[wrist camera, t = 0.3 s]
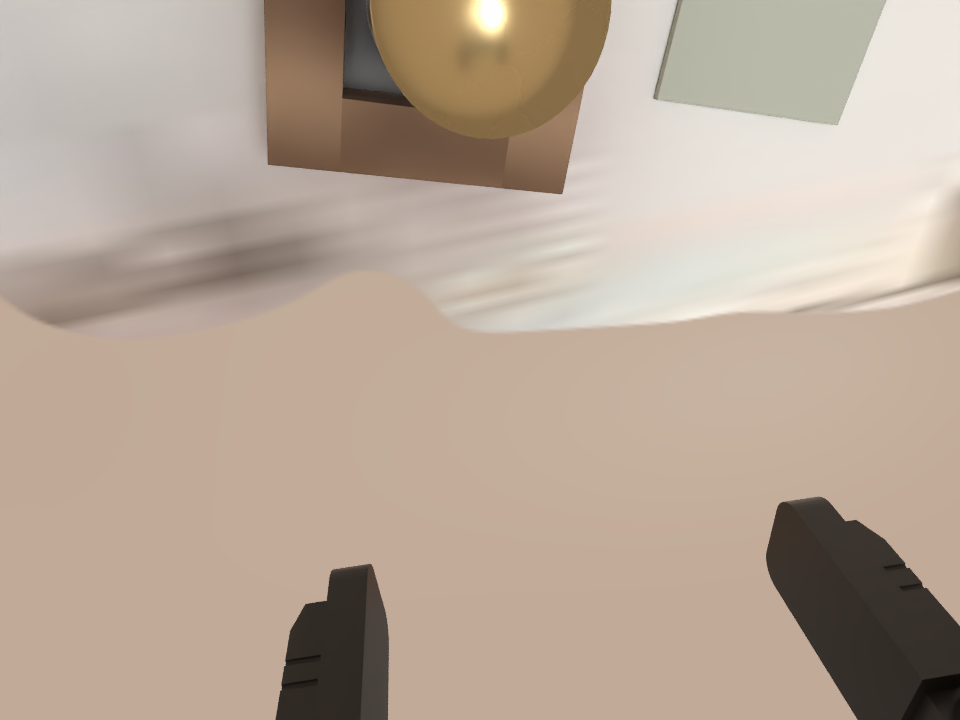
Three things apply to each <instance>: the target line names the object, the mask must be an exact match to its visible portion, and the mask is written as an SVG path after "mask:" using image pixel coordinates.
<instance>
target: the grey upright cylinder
mask: <svg viewBox="0 0 960 720" xmlns="http://www.w3.org/2000/svg"><path fill="white" fill-rule="evenodd" d="M366 14H367V21H368V25H369V29H370V32H371V35H372V38H373V40H374V42H375V44H376V46H377V47H378V50H379V53H380V55H381V58H382V61H383V63H384V64H385V66H386V68H387V70H388V72H389V74H390V76H391V77H392V79H393V80H394V82H395V83H396V85H397V86H398V88H399V89H400V91H401V92H402V94H403V95H404V96H405V97H406V98H407V99H408V100H409V102H410V103H411V104H412V105H413V106H414V107H415V108H416V109H417V110H419V111H420V112H421V113H422V114H423V115H424V116H426V117H427V118H429V119H430V120H432V121H433V122H434V123H436V124H438V125H440V126H442V127H444V128H446V129H448V130H450V131H452V132H455V133H458V134H461V135H464V136H469V137H474V138H484V139H497V138H507V137H511V136H516V135H520V134H523V133H525V132H528V131H531V130H533V129H535V128H537V127H539V126H541V125H543V124H545V123H546V122H548V121H549V120H551V119H552V118H553V117H555V116H556V115H558V114H559V113H560V112H561V111H562V110H563V109H564V108H566V107H567V106H568V105H569V104H570V103H571V102H572V101H573V99H574V98H575V97H576V96H577V95H578V93H579V92H580V91H581V90H582V88H583V87H584V85H585V84H586V82H587V81H588V79H589V78H590V76H591V74H592V72H593V70H594V68H595V66H596V64H597V62H598V60H599V57H600V55H601V52H602V49H603V47H604V43H605V39H606V36H607V32H608V27H609V20H610V14H611V0H366Z"/></svg>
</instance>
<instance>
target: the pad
mask: <svg viewBox="0 0 960 720" xmlns="http://www.w3.org/2000/svg"><path fill="white" fill-rule="evenodd" d="M885 2H886V0H679V1H678V5H677V9H676V13H675V17H674V21H673V25H672V29H671V33H670V36H669V40H668V44H667V48H666V52H665V56H664V60H663V64H662V68H661V72H660V76H659V80H658V84H657V88H656V92H655V96H654V99H658V100H665V101H672V102H679V103H686V104H693V105H700V106H707V107H714V108H721V109H728V110H735V111H742V112H749V113H756V114H763V115H770V116H777V117H784V118H791V119H797V120H804V121H811V122H818V123H825V124H832V125H838V123H839V120H840V118H841V115H842V113H843V110H844V107H845V105H846V102H847V100H848V97H849V95H850V92H851V90H852V87H853V84H854V82H855V79H856V77H857V74H858V72H859V69H860V66H861V64H862V61H863V59H864V56H865V54H866V51H867V48H868V46H869V43H870V41H871V38H872V36H873V33H874V31H875V28H876V25H877V23H878V20H879V18H880V15H881V13H882V10H883V7H884V5H885Z"/></svg>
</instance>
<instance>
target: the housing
mask: <svg viewBox="0 0 960 720" xmlns="http://www.w3.org/2000/svg"><path fill="white" fill-rule="evenodd" d="M264 14H265V58H266V102H267V146H268V165H277V166H287V167H297V168H306V169H316V170H326V171H336V172H346V173H356V174H366V175H376V176H386V177H396V178H406V179H416V180H425V181H435V182H445V183H455V184H465V185H475V186H485V187H495V188H505V189H515V190H525V191H535V192H544V193H554V194H562V193H563V188H564V183H565V178H566V173H567V168H568V163H569V158H570V153H571V148H572V143H573V138H574V133H575V129H576V124H577V119H578V114H579V109H580V104H581V99H582V94H583V89H584V87H583V88H582V90H581V91H580V92H579V93H578V95H577V96H576V97H575V98H574V99H573V101H572V102H571V103H570V104H569V105H568V106H567V107H566V108H564V109H563V110H562V111H561V112H560V113H559V114H558V115H556V116H555V117H553V118H552V119H551V120H549V121H548V122H546V123H545V124H543V125H541V126H539V127H537V128H535V129H533V130H531V131H528V132H525V133H523V134H520V135H516V136H511V137H507V138H497V139H484V138H474V137H469V136H464V135H461V134H458V133H455V132H452V131H450V130H448V129H446V128H444V127H442V126H440V125H438V124H436V123H434V122H433V121H432V120H430V119H429V118H427V117H426V116H424V115H423V114H422V113H421V112H420V111H419V110H417V109H416V108H415V107H414V106H413V105H412V104H411V103H410V102H409V100H408V99H407V98H406V97H405V96H404V95H397V94H389V93H382V92H374V91H366V90H359V89H351V88H344V87H343V81H344V49H345V17H346V0H264Z"/></svg>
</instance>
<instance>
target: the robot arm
mask: <svg viewBox="0 0 960 720" xmlns="http://www.w3.org/2000/svg"><path fill="white" fill-rule="evenodd" d="M766 561H767V567H768V571H769V574H770V577H771V579H772V581H773V584H774V585H775V587H776V589H777V590H778V592H779V594H780V595H781V597H782V598H783V600H784V602H785V603H786V605H787V607H788V608H789V610H790V611H791V613H792V615H793V616H794V618H795V619H796V621H797V623H798V624H799V626H800V627H801V629H802V631H803V632H804V634H805V636H806V637H807V639H808V640H809V642H810V644H811V645H812V647H813V648H814V650H815V652H816V653H817V655H818V656H819V658H820V660H821V661H822V663H823V665H824V666H825V668H826V669H827V671H828V672H829V674H830V676H831V677H832V679H833V681H834V682H835V684H836V686H837V687H838V689H839V690H840V692H841V694H842V695H843V697H844V698H845V700H846V702H847V703H848V705H849V706H850V708H851V710H852V711H853V713H854V714H855V716H856V718H857V719H858V720H960V626H959V625H958V624H957V622H956V621H955V620H954V619H953V618H952V617H951V615H950V614H949V613H948V612H947V611H946V610H945V609H944V607H943V606H942V605H941V604H940V603H939V602H938V601H937V599H936V598H935V597H934V596H933V595H932V594H931V593H930V591H929V590H928V589H927V588H924V587H923V586H922V582H921V581H920V580H919V579H918V577H917V576H916V575H915V574H914V573H913V572H912V570H911V569H910V568H906V566H905V562H904V561H903V560H902V559H901V558H900V557H899V555H898V554H897V553H896V552H895V551H894V550H893V549H892V548H891V546H890V545H889V544H888V543H887V542H886V540H885V539H883V538H882V537H880V536H879V535H877V534H876V533H874V532H873V531H871V530H870V529H868V528H867V527H866V526H864V525H863V524H861V523H860V522H858V521H857V520H853V521H847V522H845V521H844V519H843V518H842V517H841V516H840V514H839V513H838V512H837V511H836V510H835V508H834V507H833V506H832V505H831V504H830V503H829V501H827V500H826V499H824V498H822V497H813V498H807V499H800V500H794V501H787V502H782V503H780V504H779V506H778V508H777V511H776V515H775V519H774V524H773V528H772V532H771V537H770V540H769V544H768V548H767V553H766ZM329 579H330V580H329V587H328V596H327V601H323V602H316V603H309V604H305V606H304V608H303V609H302V611H301V613H300V615H299V617H298V618H297V620H296V622H295V624H294V625H293V627H292V629H291V631H290V635H289V642H288V648H287V654H286V660H285V661H286V666H285V667H284V672H283V679H282V690H281V691H280V697H279V702H278V709H277V715H276V720H388V666H389V665H388V663H389V662H388V661H389V637H388V625H387V618H386V612H385V609H384V606H383V601H382V598H381V595H380V591H379V587H378V584H377V580H376V577H375V573H374V570H373V567H372V565H371V564H366V565H360V566H353V567H347V568H340V569H334V570H332V571H331V574H330V578H329Z"/></svg>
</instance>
